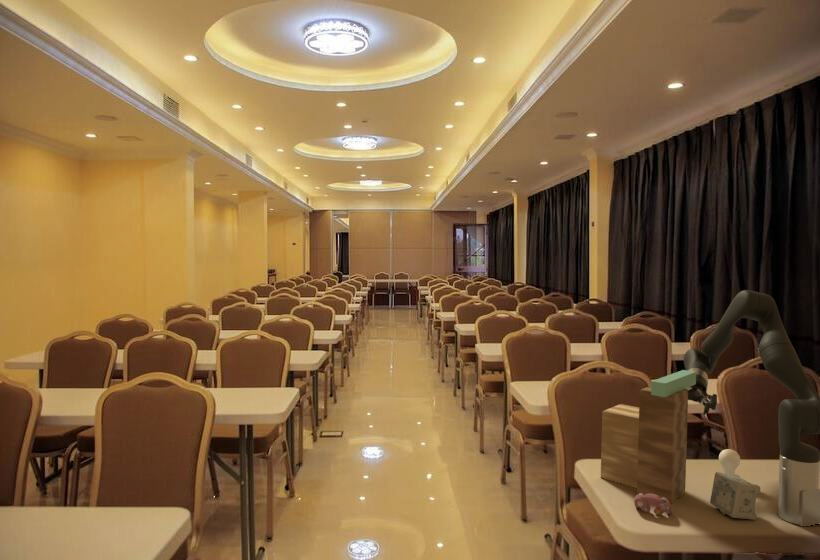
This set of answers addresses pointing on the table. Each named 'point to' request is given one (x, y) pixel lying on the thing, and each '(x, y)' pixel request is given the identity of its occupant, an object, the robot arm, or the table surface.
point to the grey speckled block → (734, 496)
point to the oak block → (620, 444)
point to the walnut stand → (662, 444)
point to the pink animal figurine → (652, 503)
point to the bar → (673, 383)
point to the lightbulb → (729, 461)
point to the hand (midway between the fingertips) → (690, 408)
